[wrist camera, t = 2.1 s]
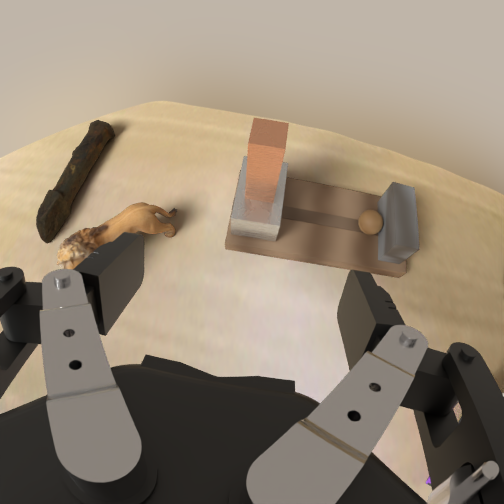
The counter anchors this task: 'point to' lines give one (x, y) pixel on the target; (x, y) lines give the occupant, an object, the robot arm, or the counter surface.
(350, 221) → the press base
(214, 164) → the counter surface
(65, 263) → the lion figurine
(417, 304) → the counter surface
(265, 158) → the block
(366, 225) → the hazelnut
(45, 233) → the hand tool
